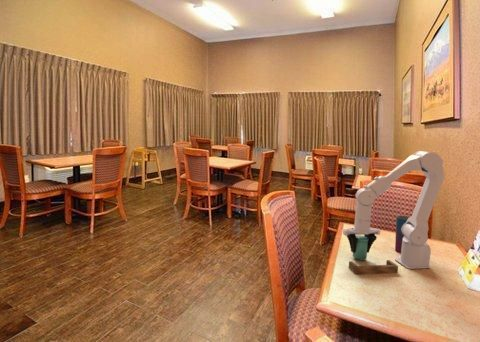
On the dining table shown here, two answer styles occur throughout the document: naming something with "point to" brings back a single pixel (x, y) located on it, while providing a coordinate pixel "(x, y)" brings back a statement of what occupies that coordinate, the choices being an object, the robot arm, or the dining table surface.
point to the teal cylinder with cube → (361, 247)
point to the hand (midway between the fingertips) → (359, 251)
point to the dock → (374, 268)
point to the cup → (399, 231)
